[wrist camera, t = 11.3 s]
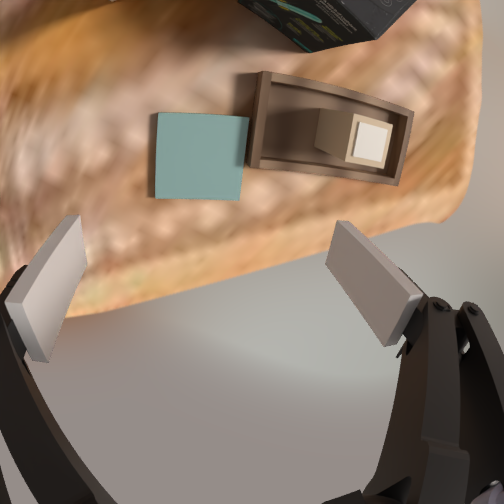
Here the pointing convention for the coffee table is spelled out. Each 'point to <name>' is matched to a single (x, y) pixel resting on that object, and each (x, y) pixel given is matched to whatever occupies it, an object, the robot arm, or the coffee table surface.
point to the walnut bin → (305, 127)
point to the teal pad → (200, 156)
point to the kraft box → (353, 137)
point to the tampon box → (329, 20)
